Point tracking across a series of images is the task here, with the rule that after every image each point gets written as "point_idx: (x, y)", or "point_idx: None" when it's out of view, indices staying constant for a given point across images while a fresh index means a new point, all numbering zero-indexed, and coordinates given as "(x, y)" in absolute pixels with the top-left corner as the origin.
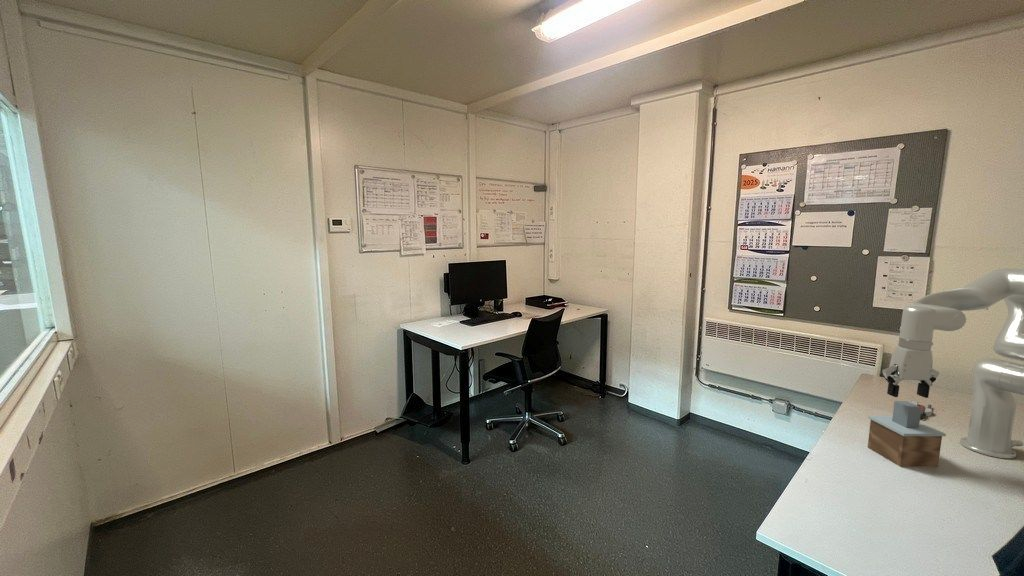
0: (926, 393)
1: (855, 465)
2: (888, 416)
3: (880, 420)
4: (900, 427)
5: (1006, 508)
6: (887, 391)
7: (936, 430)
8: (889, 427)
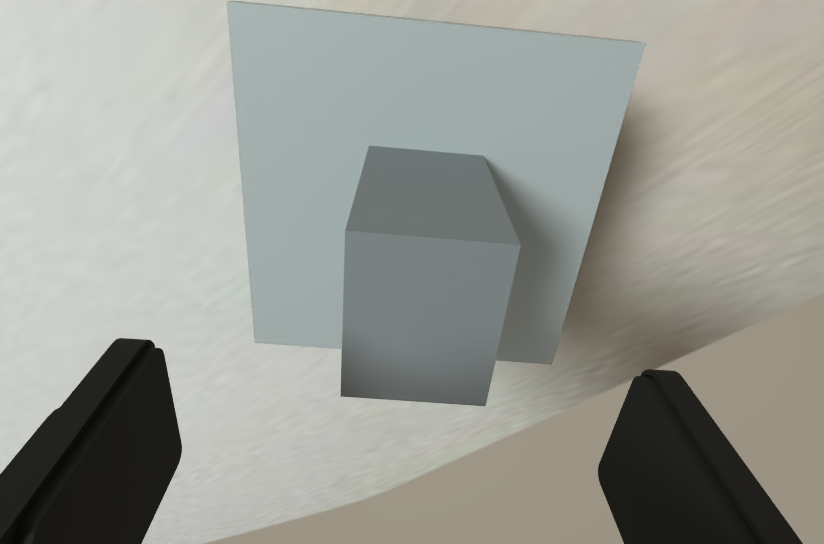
0: (625, 532)
1: (88, 196)
2: (435, 42)
3: (265, 125)
4: (321, 261)
5: (432, 455)
6: (98, 362)
7: (548, 322)
8: (250, 234)
